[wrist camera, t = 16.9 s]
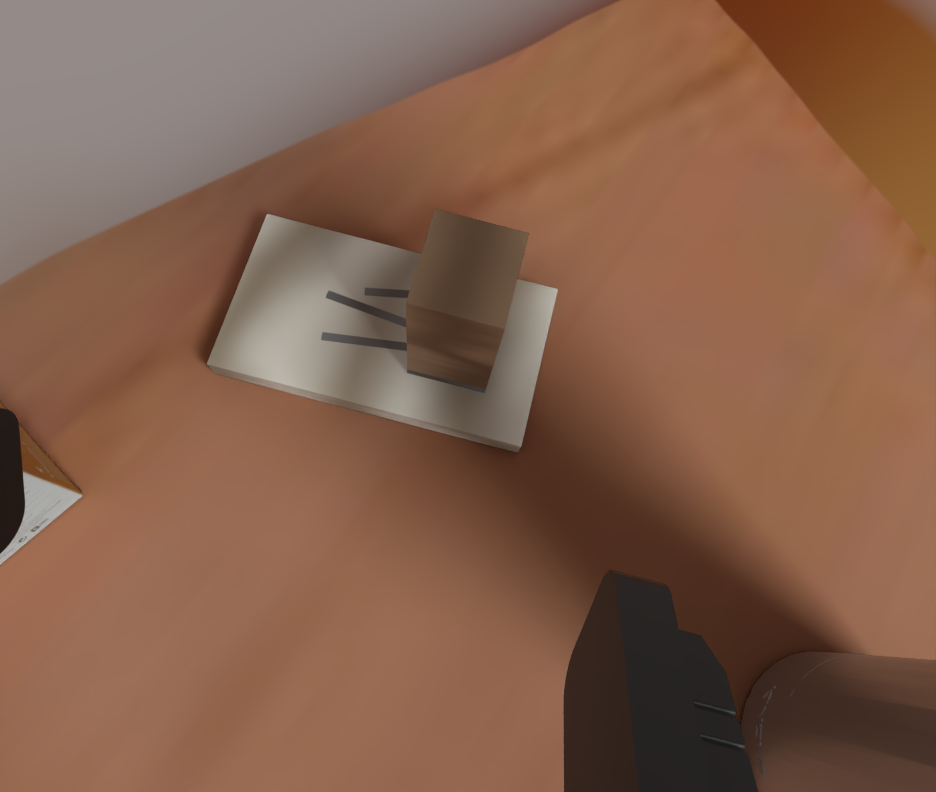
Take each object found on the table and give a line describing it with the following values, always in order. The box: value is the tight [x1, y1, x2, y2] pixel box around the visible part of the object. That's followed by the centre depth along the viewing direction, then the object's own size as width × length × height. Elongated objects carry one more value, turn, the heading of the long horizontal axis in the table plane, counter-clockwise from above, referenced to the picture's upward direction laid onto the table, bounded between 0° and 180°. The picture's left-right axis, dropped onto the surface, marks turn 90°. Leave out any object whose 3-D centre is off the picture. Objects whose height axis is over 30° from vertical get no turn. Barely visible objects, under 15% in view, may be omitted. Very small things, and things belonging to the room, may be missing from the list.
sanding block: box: [406, 209, 529, 393], centre depth 35 cm, size 4×5×9 cm
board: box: [207, 214, 558, 453], centre depth 40 cm, size 18×10×2 cm, turn 76°
